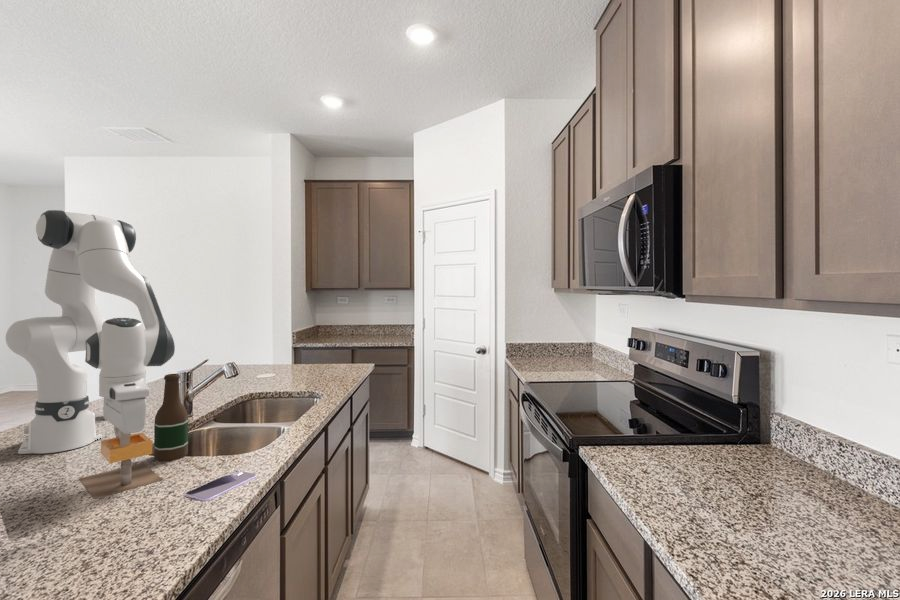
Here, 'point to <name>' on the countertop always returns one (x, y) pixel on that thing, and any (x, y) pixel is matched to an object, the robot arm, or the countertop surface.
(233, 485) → the mobile phone
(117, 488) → the board
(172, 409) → the beer bottle
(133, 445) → the orange hollow square frame
